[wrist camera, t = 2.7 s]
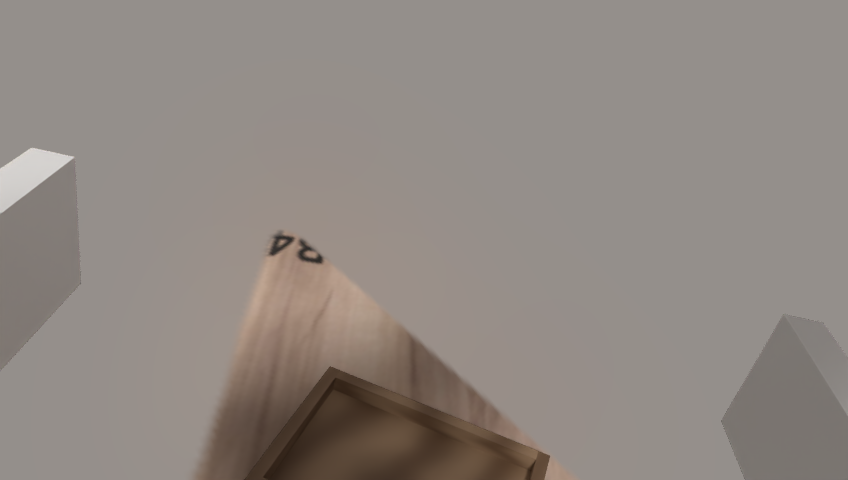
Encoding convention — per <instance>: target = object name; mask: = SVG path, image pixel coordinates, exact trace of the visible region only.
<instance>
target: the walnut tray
mask: <svg viewBox="0 0 848 480" xmlns="http://www.w3.org/2000/svg"><path fill="white" fill-rule="evenodd" d="M549 458H550V456H549V455H547V454H544V453H542V452H539V451H537V450H535V449H532V448H530V447H527V446H525V445H522V444H520V443H517V442H515V441H512V440H510V439H507V438H505V437H503V436H500V435H498V434H495V433H493V432H490V431H488V430H485V429H483V428H480V427H478V426H475V425H473V424H471V423H468V422H466V421H463V420H461V419H458V418H456V417H453V416H451V415H448V414H446V413H444V412H441V411H439V410H436V409H434V408H431V407H429V406H426V405H424V404H421V403H419V402H416V401H414V400H412V399H409V398H407V397H404V396H402V395H399V394H397V393H394V392H392V391H389V390H387V389H384V388H382V387H380V386H377V385H375V384H372V383H370V382H367V381H365V380H362V379H360V378H357V377H355V376H353V375H350V374H348V373H345V372H343V371H340V370H338V369H335V368H333V367H329V368H328V370H327V371H326V372H325V374H324V375H323V376H322V378H321V379H320V380H319V382H318V383H317V384H316V386H315V387H314V388H313V390H312V391H311V392H310V394H309V395H308V396H307V397H306V399H305V400H304V401H303V403H302V404H301V405H300V407H299V408H298V409H297V411H296V412H295V413H294V415H293V416H292V417H291V419H290V420H289V421H288V423H287V424H286V425H285V427H284V428H283V429H282V431H281V432H280V433H279V435H278V436H277V437H276V438H275V440H274V441H273V442H272V444H271V445H270V446H269V448H268V449H267V450H266V452H265V453H264V454H263V456H262V457H261V458H260V460H259V461H258V462H257V464H256V465H255V466H254V468H253V469H252V470H251V472H250V473H249V474H248V476H247V477H246V478H245V479H244V480H544V478H545V474H546V470H547V466H548V462H549Z"/></svg>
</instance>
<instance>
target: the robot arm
mask: <svg viewBox="0 0 848 480" xmlns="http://www.w3.org/2000/svg"><path fill="white" fill-rule="evenodd" d="M77 213H78V211H77V192H76V173H75V157H72V156H67V155H63V154H58V153H53V152H49V151H44V150H40V149H36V148H31V149H29V150H28V151H26V152H25V153H23V154H22V155H20V156H19V157H17V158H16V159H14V160H13V161H11V162H10V163H8V164H7V165H6V166H4V167H2V168H1V169H0V371H1V370H2V369H3V368H4V366H5V365H6V364H7V363H8V362H9V361H10V360H11V359H12V358H13V357H14V356H15V355H16V353H17V352H18V351H19V350H20V349H21V348H22V347H23V346H24V345H25V344H26V342H28V340H29V339H30V338H31V337H32V336H33V335H34V334H35V333H36V332H37V331H38V330H39V329H40V327H41V326H42V325H43V324H44V323H45V322H46V321H47V320H48V319H49V318H50V317H51V315H52V314H53V313H54V312H55V311H56V310H57V309H58V308H59V307H60V306H61V305H62V304H63V302H64V301H65V300H66V299H67V298H68V297H69V296H70V295H71V294H72V293H73V292H74V290H75V289H76V288H77V287H78V286H79V285H80V284H81V272H80V252H79V231H78V214H77ZM721 422H722V424H723V427H724V429H725V431H726V434H727V436H728V439H729V442H730V444H731V446H732V449H733V451H734V454H735V456H736V459H737V461H738V463H739V466H740V469H741V471H742V473H743V476H744V479H745V480H848V357H847V356H846V355H845V353H844V352H843V350H842V349H841V347H840V346H839V344H838V343H837V342H836V340H835V339H834V337H833V336H832V334H831V333H830V332H829V330H828V329H827V327H826V326H825V325H824V323H822V322H817V321H813V320H809V319H804V318H799V317H795V316H790V315H786V314H783V316H782V317H781V319H780V321H779V323H778V324H777V326H776V328H775V329H774V331H773V333H772V335H771V336H770V338H769V340H768V342H767V343H766V345H765V347H764V348H763V350H762V352H761V354H760V355H759V357H758V359H757V360H756V362H755V364H754V365H753V367H752V369H751V371H750V372H749V374H748V376H747V378H746V379H745V381H744V383H743V384H742V386H741V388H740V390H739V391H738V393H737V395H736V396H735V398H734V400H733V402H732V403H731V405H730V407H729V408H728V410H727V412H726V413H725V415H724V417H723V419H722V420H721Z"/></svg>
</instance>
